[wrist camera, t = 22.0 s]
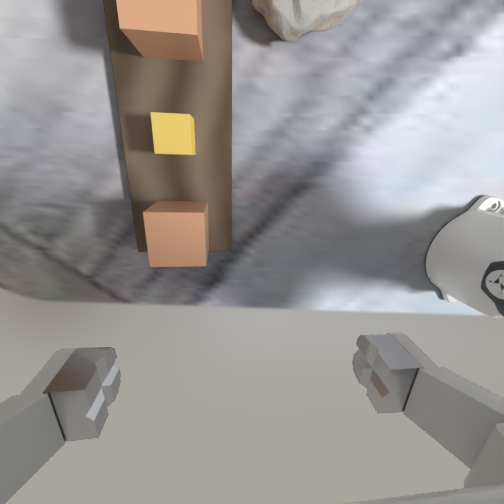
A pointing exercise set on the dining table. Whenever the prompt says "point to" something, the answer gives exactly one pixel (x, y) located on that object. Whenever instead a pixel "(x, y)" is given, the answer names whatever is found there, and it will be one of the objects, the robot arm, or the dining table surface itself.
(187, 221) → the wooden block
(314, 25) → the stone
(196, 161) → the board
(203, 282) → the dining table surface
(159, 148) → the cube
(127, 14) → the peach block
